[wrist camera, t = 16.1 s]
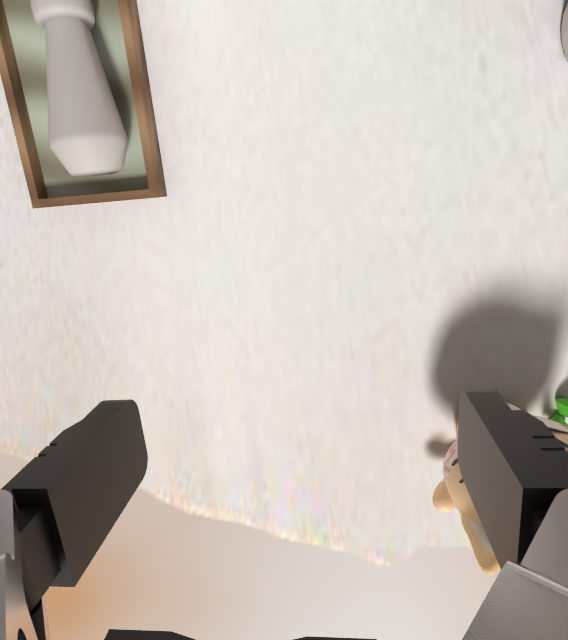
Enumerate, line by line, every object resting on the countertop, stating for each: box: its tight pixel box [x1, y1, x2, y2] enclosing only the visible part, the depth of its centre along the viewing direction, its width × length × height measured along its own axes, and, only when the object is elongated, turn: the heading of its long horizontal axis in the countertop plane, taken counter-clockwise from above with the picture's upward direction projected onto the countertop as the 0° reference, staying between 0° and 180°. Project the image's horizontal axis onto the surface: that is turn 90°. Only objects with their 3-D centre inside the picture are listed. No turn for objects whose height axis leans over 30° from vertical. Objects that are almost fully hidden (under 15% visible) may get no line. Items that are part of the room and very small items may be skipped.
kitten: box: [433, 398, 568, 574], centre depth 36 cm, size 15×10×15 cm, turn 110°
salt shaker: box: [30, 0, 128, 176], centre depth 35 cm, size 6×6×13 cm
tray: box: [0, 0, 167, 208], centre depth 37 cm, size 18×11×2 cm, turn 5°
